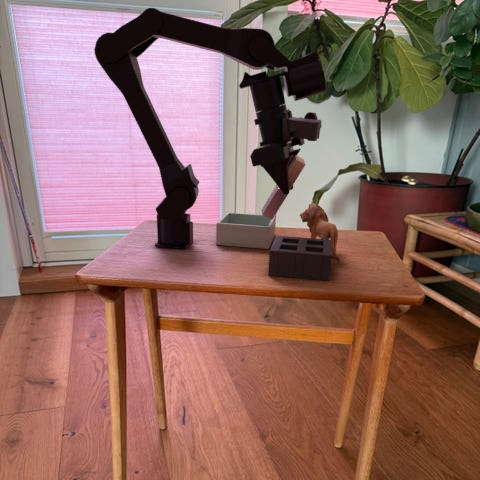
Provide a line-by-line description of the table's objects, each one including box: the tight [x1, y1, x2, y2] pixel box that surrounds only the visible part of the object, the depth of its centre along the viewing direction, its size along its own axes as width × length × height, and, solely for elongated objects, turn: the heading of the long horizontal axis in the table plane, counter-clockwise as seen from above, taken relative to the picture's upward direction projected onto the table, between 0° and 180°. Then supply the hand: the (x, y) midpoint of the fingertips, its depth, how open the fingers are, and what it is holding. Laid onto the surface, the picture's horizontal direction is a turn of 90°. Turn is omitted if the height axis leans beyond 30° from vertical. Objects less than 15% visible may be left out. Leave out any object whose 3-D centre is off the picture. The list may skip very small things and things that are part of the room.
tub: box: [215, 212, 277, 250], centre depth 99 cm, size 11×11×5 cm
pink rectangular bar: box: [261, 155, 306, 220], centre depth 91 cm, size 2×3×13 cm
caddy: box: [267, 235, 333, 282], centre depth 82 cm, size 10×10×4 cm
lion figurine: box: [299, 203, 341, 262], centre depth 91 cm, size 15×5×9 cm, turn 19°
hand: (288, 191), depth 91 cm, fingers closed on pink rectangular bar, 3 cm apart
